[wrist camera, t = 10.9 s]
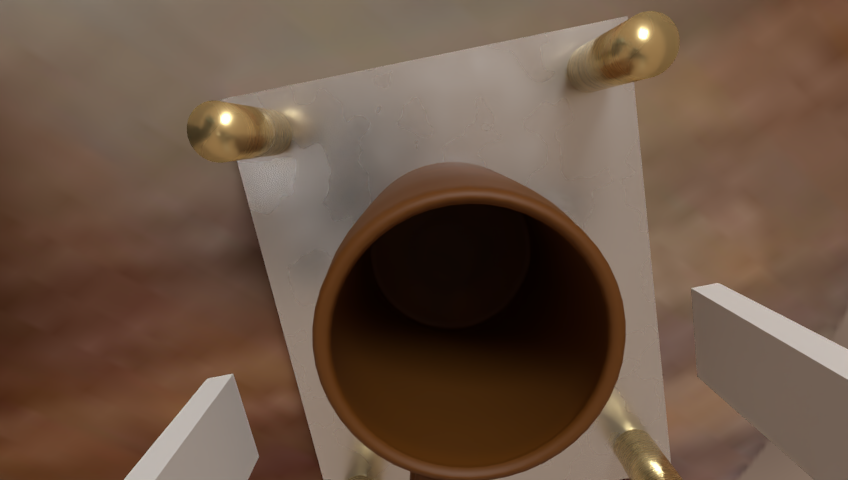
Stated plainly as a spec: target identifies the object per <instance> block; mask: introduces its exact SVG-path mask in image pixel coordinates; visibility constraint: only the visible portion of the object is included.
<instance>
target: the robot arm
mask: <svg viewBox="0 0 848 480" xmlns="http://www.w3.org/2000/svg"><path fill="white" fill-rule="evenodd" d="M691 293H692V308H693V322H694V336H695V350H696V365H697V377H699V378H700V379H701V380H702V381H703V382H704V383H705V384H706V385H708V386H709V387H710V388H711V389H712V390H713V391H714V392H715V393H717V394H718V395H719V396H720V397H721V398H722V399H723V400H725V401H726V402H727V403H728V404H729V405H730V406H731V407H732V408H734V409H735V410H736V411H737V412H738V413H739V414H740V415H742V416H743V417H744V418H745V419H746V420H747V421H748V422H749V423H751V424H752V425H753V426H754V427H755V428H756V429H757V430H758V431H760V432H761V433H762V434H763V435H764V436H765V437H766V438H768V439H769V440H770V441H771V442H772V443H773V444H774V445H775V446H777V447H778V448H779V449H780V450H781V451H782V452H784V453H785V454H786V455H787V456H788V457H789V458H790V459H791V460H793V461H794V462H795V463H796V464H797V465H798V466H799V467H800V468H802V469H803V470H804V471H805V472H806V473H807V474H808V475H809V476H811V477H812V478H813V479H814V480H848V349H846V348H844V347H841V346H840V345H838V344H836V343H834V342H832V341H830V340H828V339H826V338H825V337H823V336H821V335H819V334H817V333H815V332H813V331H811V330H809V329H807V328H805V327H803V326H801V325H799V324H797V323H795V322H793V321H791V320H790V319H788V318H786V317H784V316H782V315H780V314H778V313H776V312H774V311H772V310H770V309H768V308H766V307H764V306H762V305H760V304H758V303H756V302H755V301H753V300H751V299H749V298H747V297H745V296H743V295H741V294H739V293H737V292H735V291H733V290H731V289H729V288H727V287H725V286H723V285H721V284H719V283H716V284H711V285H705V286H700V287H695V288H691ZM258 457H259V455H258V452H257V448H256V445H255V442H254V439H253V436H252V432H251V429H250V426H249V423H248V419H247V416H246V413H245V410H244V407H243V403H242V400H241V397H240V394H239V391H238V387H237V384H236V381H235V378H234V375H233V374H229V375H224V376H219V377H213V378H208V379H207V380H206V381H205V382H204V383H203V384H202V386H201V387H200V388H199V389H198V390H197V392H196V393H195V394H194V395H193V396H192V398H191V399H190V400H189V401H188V403H187V404H186V405H185V406H184V407H183V409H182V410H181V411H180V412H179V413H178V415H177V416H176V417H175V418H174V420H173V421H172V422H171V423H170V424H169V426H168V427H167V428H166V429H165V430H164V432H163V433H162V434H161V435H160V436H159V438H158V439H157V440H156V441H155V443H154V444H153V445H152V446H151V447H150V449H149V450H148V451H147V452H146V453H145V455H144V456H143V457H142V458H141V459H140V461H139V462H138V463H137V464H136V466H135V467H134V468H133V469H132V470H131V472H130V473H129V474H128V475H127V476H126V478H125V479H124V480H248V478H249V476H250V474H251V472H252V470H253V468H254V466H255V464H256V462H257V459H258Z"/></svg>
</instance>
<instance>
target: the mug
mask: <svg viewBox="0 0 848 480" xmlns="http://www.w3.org/2000/svg"><path fill="white" fill-rule="evenodd" d="M625 342H626V320H625V313H624V306H623V300H622V297H621V293H620V290H619V287H618V283H617V281H616V279H615V277H614V274H613V272H612V270H611V268H610V266H609V264H608V262H607V261H606V259H605V258H604V256H603V255H602V253H601V251H600V250H599V248H598V247H597V246H596V245H595V244H594V242H593V241H592V240H591V239H590V238H589V237H588V236H587V234H586V233H585V232H584V231H583V230H582V229H581V228H580V227H579V226H577V225H576V224H575V223H574V222H573V221H572V220H571V219H570V218H569V216H567V215H566V214H565V213H564V212H563V211H562V210H561V209H559V208H558V207H557V206H556V205H555V204H553V203H552V202H551V201H549V200H548V199H546V198H544V197H543V196H541V195H540V194H538V193H537V192H535V191H534V190H532V189H530V188H528V187H526V186H524V185H522V184H520V183H518V182H516V181H514V180H512V179H510V178H508V177H506V176H504V175H502V174H499V173H497V172H495V171H493V170H491V169H488V168H485V167H482V166H479V165H475V164H470V163H464V162H442V163H435V164H430V165H426V166H423V167H420V168H417V169H414V170H412V171H410V172H408V173H406V174H404V175H402V176H401V177H399V178H398V179H396V180H395V181H394V182H392V183H391V184H390V185H389V186H388V187H386V188H385V189H384V190H383V191H382V192H381V193H380V194H379V195H378V197H377V198H376V199H375V200H374V201H373V202H372V203H371V204H370V205H369V207H368V208H367V209H366V210H365V212H364V213H363V214H362V215H361V216H360V218H359V219H358V220H357V221H356V223H355V224H354V225H353V226H352V228H351V229H350V230H349V231H348V233H347V234H346V236H345V238H344V239H343V241H342V243H341V244H340V246H339V248H338V249H337V251H336V253H335V255H334V257H333V260H332V262H331V264H330V266H329V269H328V271H327V274H326V277H325V279H324V281H323V284H322V286H321V288H320V292H319V295H318V299H317V302H316V306H315V311H314V318H313V326H312V347H313V353H314V360H315V366H316V370H317V373H318V376H319V380H320V383H321V385H322V388H323V390H324V392H325V394H326V397H327V399H328V401H329V403H330V404H331V406H332V407H333V409H334V411H335V412H336V414H337V415H338V417H339V419H340V420H341V421H342V422H343V424H344V425H345V426H346V427H347V428H348V430H349V431H350V432H351V433H352V434H353V435H354V436H355V437H356V438H357V439H358V440H359V441H360V442H361V443H362V444H363V445H365V446H366V447H367V448H368V449H370V450H371V451H373V452H374V453H375V454H377V455H378V456H379V457H381V458H383V459H385V460H387V461H388V462H390V463H392V464H394V465H396V466H398V467H400V468H403V469H405V470H408V471H410V480H493V479H498V478H504V477H508V476H512V475H515V474H518V473H521V472H525V471H527V470H529V469H532V468H534V467H536V466H538V465H541V464H543V463H545V462H546V461H548V460H550V459H551V458H553V457H555V456H556V455H558V454H560V453H561V452H562V451H564V450H565V449H566V448H568V447H569V446H570V445H572V444H573V443H574V442H575V441H576V440H577V439H578V438H579V437H580V436H581V435H582V434H583V433H584V432H586V431H587V430H588V429H589V427H590V426H591V425H592V423H593V422H594V421H595V420H596V418H597V417H598V416H599V415H600V413H601V412H602V410H603V408H604V407H605V405H606V403H607V402H608V400H609V398H610V396H611V394H612V392H613V389H614V387H615V385H616V382H617V380H618V377H619V373H620V370H621V366H622V363H623V356H624V349H625Z"/></svg>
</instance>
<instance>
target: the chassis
mask: <svg viewBox="0 0 848 480" xmlns="http://www.w3.org/2000/svg"><path fill="white" fill-rule="evenodd" d="M679 43H680V41H679V33H678V30H677V28H676V26H675V24H674V22H673V21H672V20H671V19H670V18H669V17H667V16H666V15H664V14H662V13H659V12H655V11H647V12H642V13H640V14H637V15H635V16H634V17H632V18H630V19H628V18H627V16H626V17H621V18H616V19H611V20H606V21H602V22H597V23H592V24H587V25H582V26H577V27H572V28H567V29H562V30H558V31H553V32H548V33H543V34H538V35H533V36H528V37H523V38H519V39H514V40H509V41H504V42H499V43H494V44H489V45H484V46H479V47H475V48H470V49H465V50H460V51H455V52H450V53H445V54H440V55H436V56H431V57H426V58H421V59H416V60H411V61H406V62H401V63H396V64H392V65H387V66H382V67H377V68H372V69H367V70H362V71H357V72H353V73H348V74H343V75H338V76H333V77H328V78H323V79H318V80H313V81H309V82H304V83H299V84H294V85H289V86H284V87H279V88H274V89H270V90H265V91H260V92H255V93H250V94H245V95H240V96H235V97H230V98H226V99H221V100H220V101H208V102H204V103H202V104H200V105H199V106H197V107H196V108H195V109H194V110H193V112H192V113H191V115H190V117H189V120H188V124H187V134H188V138H189V141H190V143H191V145H192V147H193V148H194V150H195V151H196V152H197V153H198V154H199V155H200V156H202V157H203V158H205V159H207V160H209V161H212V162H229V161H236V160H237V163H238V167H239V171H240V174H241V178H242V182H243V186H244V189H245V193H246V197H247V200H248V204H249V208H250V211H251V215H252V219H253V222H254V226H255V230H256V233H257V237H258V241H259V244H260V248H261V252H262V256H263V259H264V263H265V267H266V270H267V274H268V278H269V281H270V285H271V289H272V292H273V296H274V300H275V303H276V307H277V311H278V314H279V318H280V322H281V326H282V329H283V333H284V337H285V340H286V344H287V348H288V351H289V355H290V359H291V362H292V366H293V370H294V373H295V377H296V381H297V384H298V388H299V392H300V396H301V399H302V403H303V407H304V410H305V414H306V418H307V421H308V425H309V429H310V432H311V436H312V440H313V443H314V447H315V451H316V455H317V458H318V462H319V466H320V469H321V473H322V477H323V480H410V471H408V470H405V469H403V468H400V467H398V466H396V465H394V464H392V463H390V462H388V461H387V460H385V459H383V458H381V457H379V456H378V455H377V454H375V453H374V452H373V451H371V450H370V449H368V448H367V447H366V446H365V445H363V444H362V443H361V442H360V441H359V440H358V439H357V438H356V437H355V436H354V435H353V434H352V433H351V432H350V431H349V430H348V428H347V427H346V426H345V425H344V424H343V422H342V421H341V420H340V419H339V417H338V415H337V414H336V412H335V411H334V409H333V407H332V406H331V404H330V403H329V401H328V399H327V397H326V394H325V392H324V390H323V388H322V385H321V383H320V380H319V376H318V373H317V370H316V366H315V360H314V353H313V347H312V326H313V318H314V311H315V306H316V302H317V299H318V295H319V292H320V288H321V286H322V284H323V281H324V279H325V277H326V274H327V271H328V269H329V266H330V264H331V262H332V260H333V257H334V255H335V253H336V251H337V249H338V248H339V246H340V244H341V243H342V241H343V239H344V238H345V236H346V234H347V233H348V231H349V230H350V229H351V228H352V226H353V225H354V224H355V223H356V221H357V220H358V219H359V218H360V216H361V215H362V214H363V213H364V212H365V210H366V209H367V208H368V207H369V205H370V204H371V203H372V202H373V201H374V200H375V199H376V198H377V197H378V195H379V194H380V193H381V192H382V191H383V190H384V189H385V188H386V187H388V186H389V185H390V184H391V183H392V182H394V181H395V180H396V179H398V178H399V177H401V176H402V175H404V174H406V173H408V172H410V171H412V170H414V169H417V168H420V167H423V166H426V165H430V164H435V163H442V162H464V163H470V164H475V165H479V166H482V167H485V168H488V169H491V170H493V171H495V172H497V173H499V174H502V175H504V176H506V177H508V178H510V179H512V180H514V181H516V182H518V183H520V184H522V185H524V186H526V187H528V188H530V189H532V190H534V191H535V192H537V193H538V194H540V195H541V196H543V197H544V198H546V199H548V200H549V201H551V202H552V203H553V204H555V205H556V206H557V207H558V208H559V209H561V210H562V211H563V212H564V213H565V214H566V215H567V216H569V218H570V219H571V220H572V221H573V222H574V223H575V224H576V225H577V226H579V227H580V228H581V229H582V230H583V231H584V232H585V233H586V234H587V236H588V237H589V238H590V239H591V240H592V241H593V242H594V244H595V245H596V246H597V247H598V248H599V250H600V251H601V253H602V255H603V256H604V258H605V259H606V261H607V262H608V264H609V266H610V268H611V270H612V272H613V274H614V277H615V279H616V281H617V283H618V287H619V290H620V293H621V297H622V300H623V306H624V313H625V320H626V342H625V349H624V356H623V363H622V366H621V370H620V373H619V377H618V380H617V382H616V385H615V387H614V389H613V392H612V394H611V396H610V398H609V400H608V402H607V403H606V405H605V407H604V408H603V410H602V412H601V413H600V415H599V416H598V417H597V418H596V420H595V421H594V422H593V423H592V425H591V426H590V427H589V429H588V430H587V431H586V432H584V433H583V434H582V435H581V436H580V437H579V438H578V439H577V440H576V441H575V442H574V443H573V444H572V445H570V446H569V447H568V448H566V449H565V450H564V451H562V452H561V453H560V454H558V455H556V456H555V457H553V458H551V459H550V460H548V461H546V462H545V463H543V464H541V465H538V466H536V467H534V468H532V469H529V470H527V471H525V472H521V473H518V474H515V475H512V476H508V477H504V478H498V479H493V480H620V479H626V478H630V480H683V479H682V478H681V477H680V475H679V474H678V473H677V471H676V470H675V468H674V467H673V466H672V464H671V459H670V449H669V438H668V428H667V418H666V408H665V397H664V387H663V377H662V367H661V356H660V346H659V336H658V326H657V315H656V305H655V295H654V284H653V274H652V264H651V254H650V243H649V233H648V223H647V213H646V202H645V192H644V182H643V172H642V161H641V151H640V141H639V131H638V120H637V110H636V100H635V90H634V82H635V81H639V80H643V79H647V78H650V77H654V76H657V75H659V74H661V73H663V72H664V71H665V70H667V69H668V68H669V67H670V65H671V64H672V63H673V61H674V60H675V58H676V56H677V53H678V50H679Z"/></svg>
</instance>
